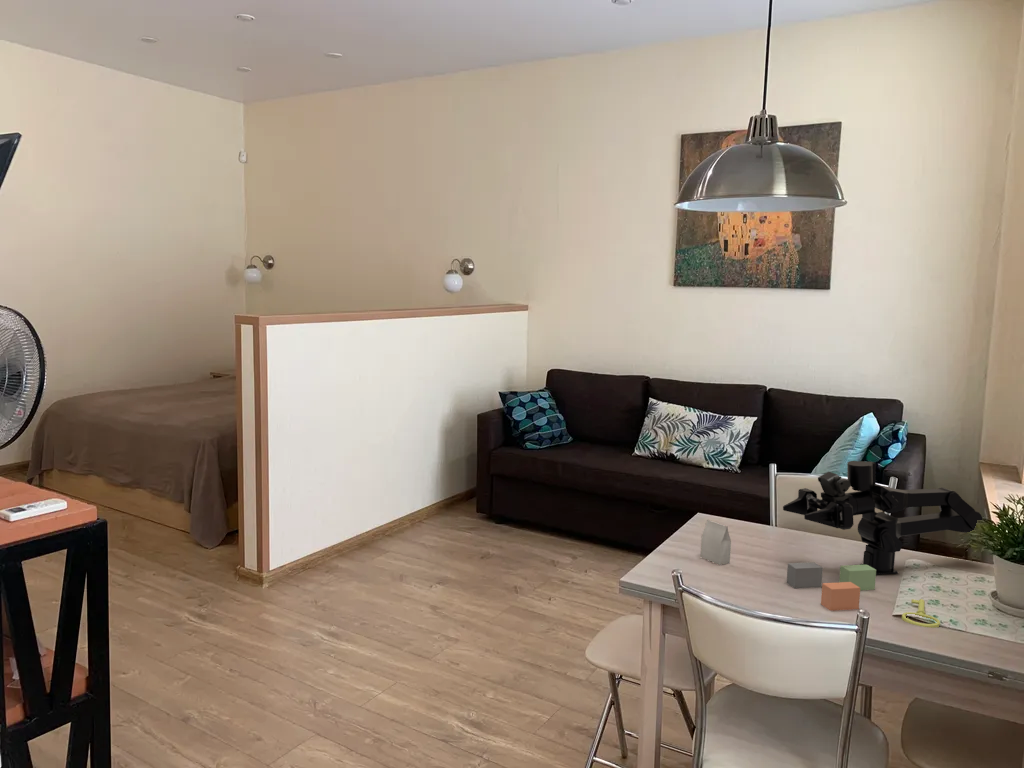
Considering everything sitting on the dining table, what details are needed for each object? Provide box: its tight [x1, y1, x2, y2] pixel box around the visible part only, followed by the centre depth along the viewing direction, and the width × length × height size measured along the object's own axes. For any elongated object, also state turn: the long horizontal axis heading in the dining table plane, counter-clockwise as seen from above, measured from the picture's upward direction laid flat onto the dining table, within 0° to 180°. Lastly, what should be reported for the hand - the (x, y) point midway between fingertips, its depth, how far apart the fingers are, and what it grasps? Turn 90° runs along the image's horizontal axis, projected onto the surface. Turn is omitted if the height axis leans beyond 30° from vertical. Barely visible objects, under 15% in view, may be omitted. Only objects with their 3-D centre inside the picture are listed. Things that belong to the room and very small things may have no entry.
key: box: [901, 598, 941, 629], centre depth 168 cm, size 7×12×2 cm, turn 170°
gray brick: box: [786, 561, 824, 589], centre depth 184 cm, size 7×4×5 cm, turn 100°
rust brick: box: [820, 582, 861, 612], centre depth 172 cm, size 7×4×5 cm, turn 100°
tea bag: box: [699, 519, 732, 566], centre depth 200 cm, size 4×7×10 cm, turn 32°
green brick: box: [838, 564, 877, 591], centre depth 183 cm, size 7×4×5 cm, turn 100°
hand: (793, 512), depth 188 cm, fingers open, 9 cm apart
